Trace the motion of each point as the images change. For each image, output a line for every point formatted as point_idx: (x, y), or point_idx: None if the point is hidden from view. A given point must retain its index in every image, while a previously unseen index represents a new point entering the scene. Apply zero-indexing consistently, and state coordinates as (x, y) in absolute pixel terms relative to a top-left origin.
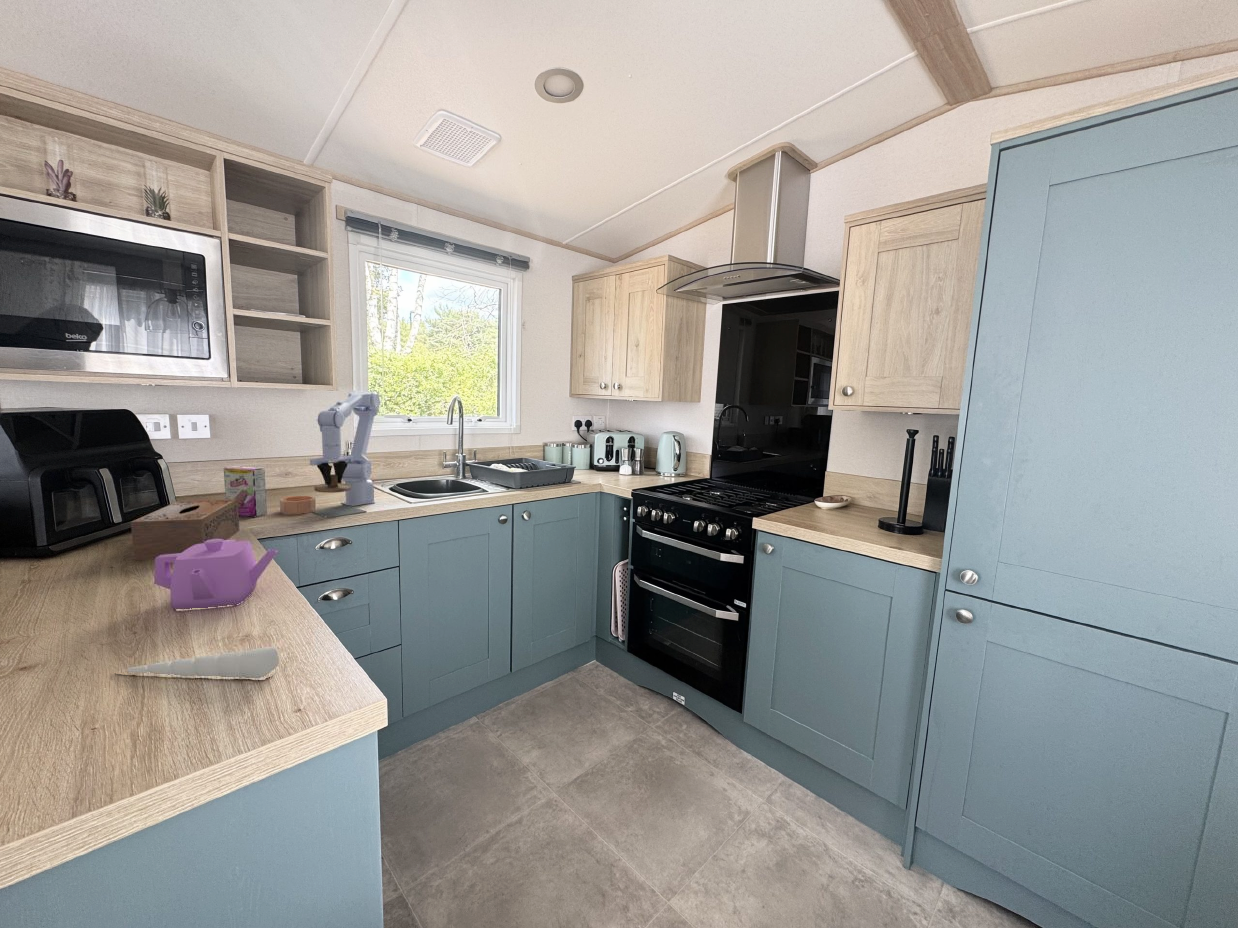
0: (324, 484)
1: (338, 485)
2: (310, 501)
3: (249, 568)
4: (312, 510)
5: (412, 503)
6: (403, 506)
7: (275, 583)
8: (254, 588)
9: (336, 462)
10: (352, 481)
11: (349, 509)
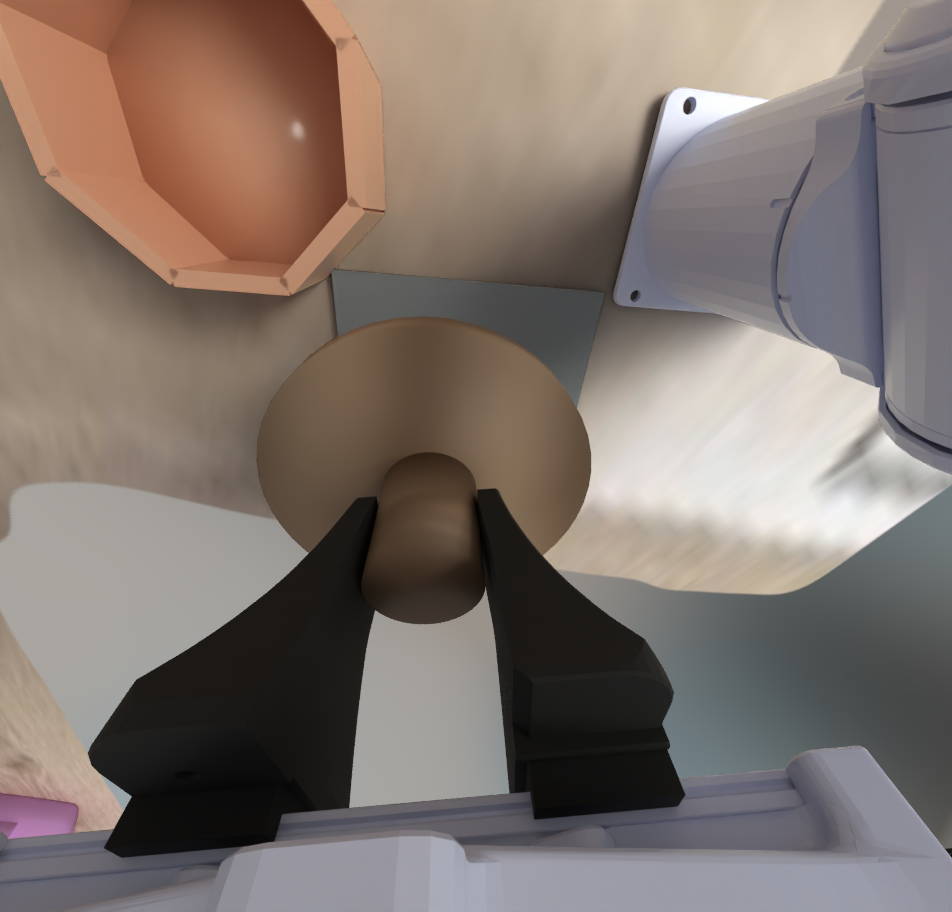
0: (404, 365)
1: (494, 482)
2: (299, 290)
3: None
4: (342, 258)
5: (834, 477)
6: (747, 504)
7: (112, 811)
8: (76, 820)
9: (489, 818)
10: (786, 318)
11: None
